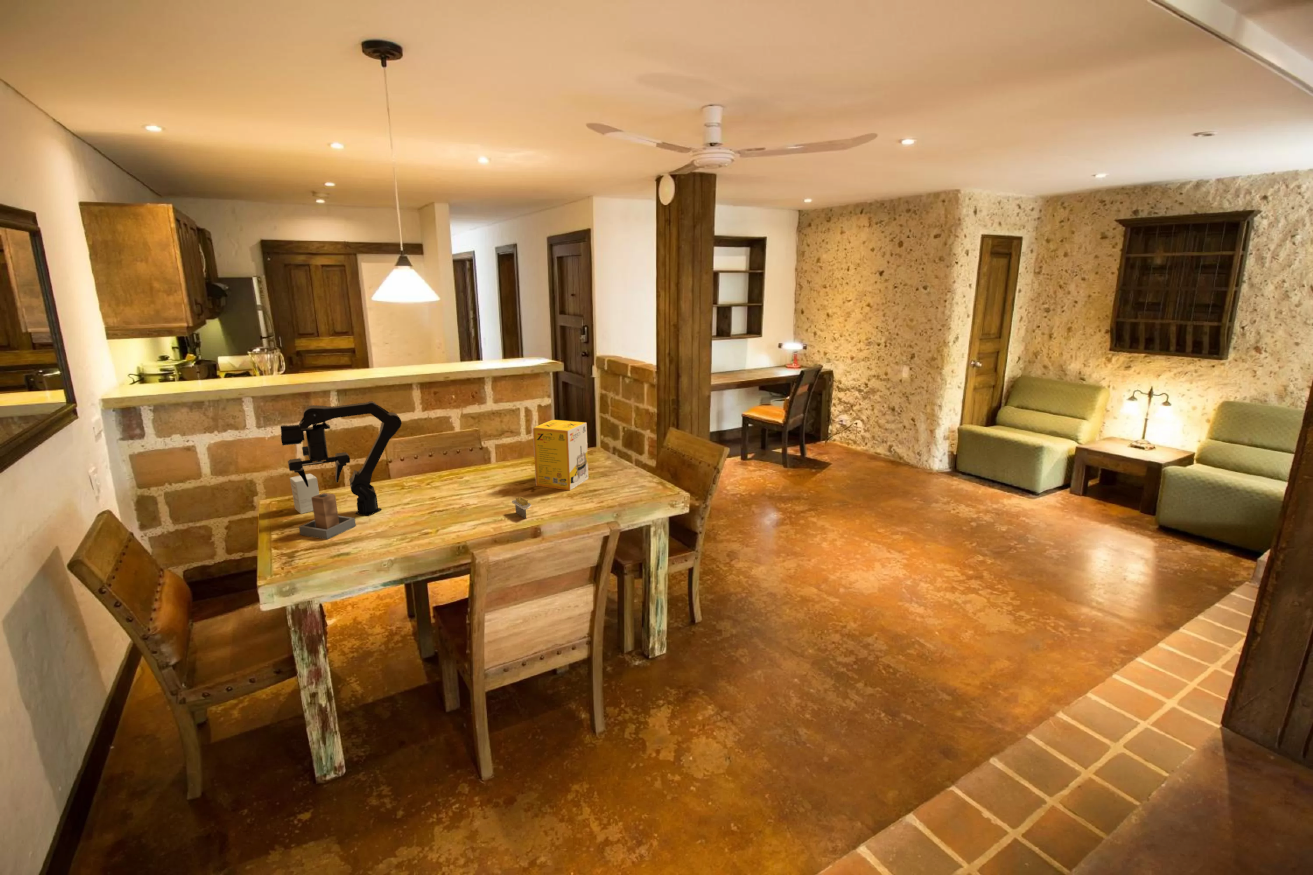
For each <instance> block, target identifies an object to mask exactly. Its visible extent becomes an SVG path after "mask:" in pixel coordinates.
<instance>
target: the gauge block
mask: <svg viewBox="0 0 1313 875" xmlns="http://www.w3.org/2000/svg"><path fill="white" fill-rule="evenodd" d="M311 498H312V505H313V511H312V512H313V516H314V520H315V524H316V528H320V529H326V530H327V529H329V528H331V527H333V526H335V525H338V524H339V518H338V516H339V512H338V506H337V505H338V504H337V500H336V499H337V498H336V494H335V493H331V492H322V493H319V495H316V496H314V497H311Z"/></svg>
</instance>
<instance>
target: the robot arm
mask: <svg viewBox="0 0 1313 875" xmlns="http://www.w3.org/2000/svg"><path fill="white" fill-rule="evenodd" d="M369 414H371V415H372V416H373V417H374V418H375V419H377V420H379V421H380V422H381V423H380V427H379V432H378V436H377V437H376V439H375V441H374V443H373V445H372V447H371V449H370V451H369V453H368V455H367V457H366V459H365V460H364V462H363V465H362V467H361V468H360V469H359V470H358V471H357V470H356V469H354V470H353V472H352V475H351V477H349V486H350V490H351V493H352V494H353V495H354V496H357V497H356V507H357V508H356V509H357V511H355V515H360V516H361V515H362V516H371V515H374V514H376V513H378V512H380V511H382V508H381V507H379V504H378V496H377V493H376V490H375V487H374V486H373V485H372V484H371V481H372V476H373V473H374V471H375V469H376V467H377V465H378V463H379V461H380V459H381V457H382V455H383V453H384V452H385V450H386V447H387V445H388V443H389V441H390V440H391V439H392V438H393V437H394V436H395V434H396V433H397V432H398V431H399V429H400V428H401V426H402V419H401V418H400V416H399V415H398V414H397V413H396V412H392V411H391V412H389V411H388V410H386V408H383V407H382V406H380V405H379V404H377V403H376V402H375V401H372V400H371V401H367V402H360V403H359V402H358V403H349V404H344V405H343V404H342V405H334V406H332V405H331V406H329V405H317V404H316V405H315V404H314V405H313V404H311V405H308V406H306V407H305V409H304V410H303V417H301V418H302V419H301V420H299V423H298V424H290V425H285V424H284V425H282V424H281V425H280V433H281V434H280V440H281V446H282V447H283V446H292V445H301V444H302V443H303V441H305V438H306V443H307V446H302V447H301V449H302V455H303V457H307V456H308V459H306V460H304V459H303V460H302V458H300V457H299V458H291V459H289V460H288V461H287V466H288V469H289V472H294V474H295V473H296V474H298V476H301V477H302V479H303V480H304V482H305V484H306V486H307V487H308V481H307V478H306V472H305V469H304V467H306V466H315V465H322V464H328V463H335V482H336V483H339V479H340V476H341V473H342V470H343V468H344V467H345V466H347V464H349V463H351V457H350V454H349V453H348V452H346V451H343V452H336V453H335V455H334V456H329V453H328V447H327V439H326V438H327V437H326V430H329V429H331V425H330V424H328V423H327V421H330V420H333V419H339V418H345V417H347V418H348V417H354V416H360V415H361V416H362V415H363V416H364V415H369ZM304 432H305V433H304ZM305 435H306V436H305Z"/></svg>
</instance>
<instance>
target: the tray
mask: <svg viewBox="0 0 1313 875" xmlns="http://www.w3.org/2000/svg"><path fill="white" fill-rule="evenodd" d="M338 518H339V524H338V525H335V526H333V527H331V528H329V529H327V530H326V529H320V528H316V524H315V519H313V520H311V521H307V523H304V524H301V525H298V530H299V535H300V536H303V537H304V536H305V537H311V538H317V539H322V540H329V539H332V538H333V537H337V536H339V535H341V534H342V533H344V532H347V531H348V530H350V529H354V528H355V527H357V525H356V524H357V523H356V518H355V517H352V516H351V517H350V516H344V515H343V516H342V515H338Z"/></svg>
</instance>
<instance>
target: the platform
mask: <svg viewBox="0 0 1313 875" xmlns="http://www.w3.org/2000/svg"><path fill="white" fill-rule="evenodd" d="M511 503H512V504H514V506H515V514H517V515H519V516H521V517H522V518H524V519H525V520H527V510H528V509H530V508H531V507H532V503H529V502H528V500H527V499H526V498H525V497H522V496H517V497H515V499H512V500H511Z"/></svg>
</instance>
